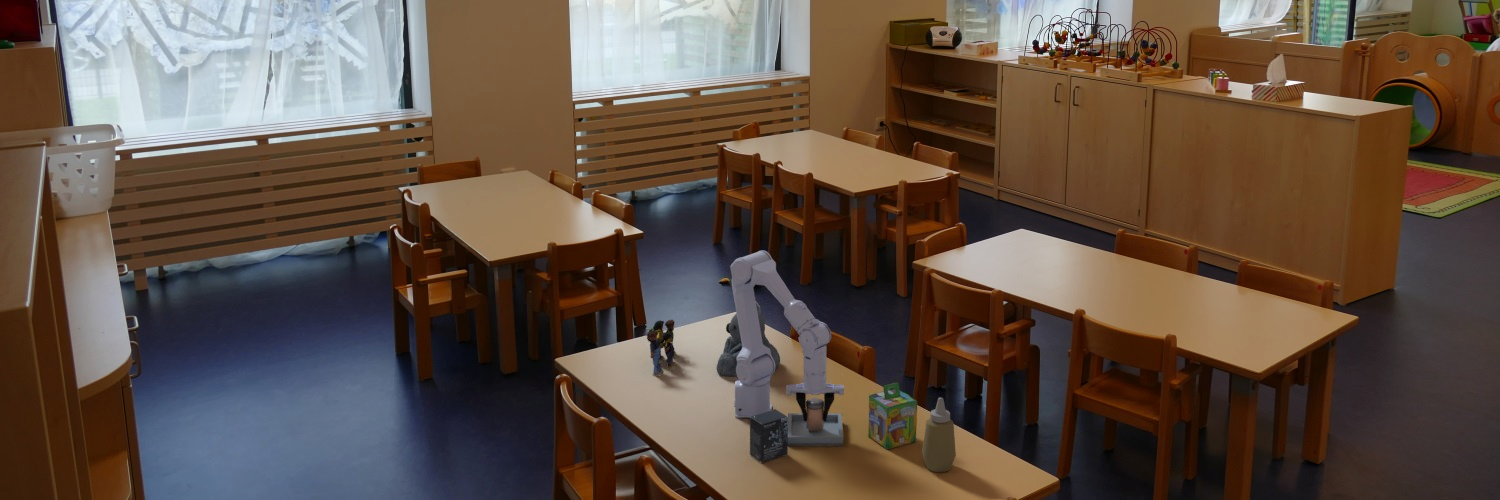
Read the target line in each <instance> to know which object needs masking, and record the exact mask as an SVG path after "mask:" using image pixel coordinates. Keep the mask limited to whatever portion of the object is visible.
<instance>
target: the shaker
mask: <svg viewBox="0 0 1500 500" xmlns="http://www.w3.org/2000/svg"><path fill="white" fill-rule="evenodd" d="M806 427H807V429H809V430H811V431H819V430H822V429H823V428H824V399H821V398H818V397H817V398H816V397H814V398H809V399H807V400H806Z"/></svg>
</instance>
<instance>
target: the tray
mask: <svg viewBox="0 0 1500 500" xmlns="http://www.w3.org/2000/svg"><path fill="white" fill-rule="evenodd" d="M842 416H843V415H842V412H841V413H840V412H839V413H833V412H832V413H831V412H830V413H829V412H828V415H827V420H826V421H824V428H823V429H822V430H819V431H811V430H809V429H807V427H806V421H804V418H803V414H802V412H801V413H799V412H798V413H797V412H795V413H791V412H790V413H787V417H788V447H843V446H844V429H843V417H842Z"/></svg>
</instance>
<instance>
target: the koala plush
mask: <svg viewBox="0 0 1500 500" xmlns="http://www.w3.org/2000/svg"><path fill="white" fill-rule="evenodd" d="M756 307H757V313H758V319H759V325H760V330H761V336H762V342H763V345H764V346H766V347H768V348H769V349H770V351H771V355H772V358H773V359H774V361H775V366H776V368H775V370H776V369H777V368H778V367H779V365H780V364H781V356H780V354H779V351H778V349H777V348H776V347H775V346H774V345H773V344H772V343H771V342H770V340H768V338H767V337H766V336H767V335H766V333H765V330H766V322H765V321H766V320H765V317H764V316H763V313H761V306H760V305H759V303H758V301H756ZM725 330H726V333H728V334H729V335H730V336H728V337H727V338H726V340H725V343H724V346H723V352H722V353H721V354H720V356H719V358H718V361H717V364H716V373H717V374H719V375H721V376H725V377H737V374H736V367H737V360H736V358H737V356H738V354H739V353H740V351H741V349H742V342H741V336H740V330H739V325H738V319H737V313H736V312H735V314H734V315H733V316H732V317H731V320H730V322H728V323H727V324H726V326H725Z"/></svg>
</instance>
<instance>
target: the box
mask: <svg viewBox="0 0 1500 500" xmlns="http://www.w3.org/2000/svg"><path fill="white" fill-rule="evenodd" d="M788 449H789V446H788V415H785V414H784V413H782V412H781V411H779V410H778V409H776V408H774V409H772V410H771V411H768V412H765V413H761V414H758V415H754V416H750V418H749V455H750V456H752V457H753V458H754V459H755V460H757V461H758V462H759V463H762V464H763V463H765V462H768V461H771V460H775V459H777V458H778V459H779V458H781V457H784V456H788V454H789V453H788V451H789V450H788Z"/></svg>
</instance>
